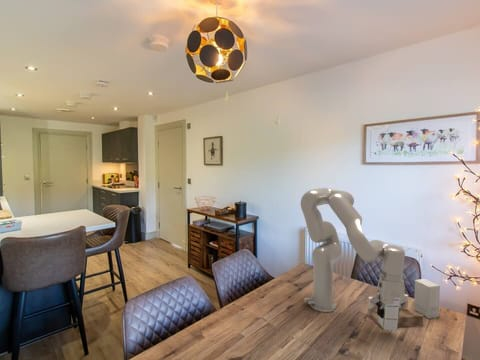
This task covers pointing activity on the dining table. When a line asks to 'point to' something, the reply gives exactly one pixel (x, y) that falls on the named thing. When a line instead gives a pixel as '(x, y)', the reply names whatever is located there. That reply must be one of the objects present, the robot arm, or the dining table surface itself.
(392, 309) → the syrup box
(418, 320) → the cleat board
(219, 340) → the dining table surface
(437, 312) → the skincare box
